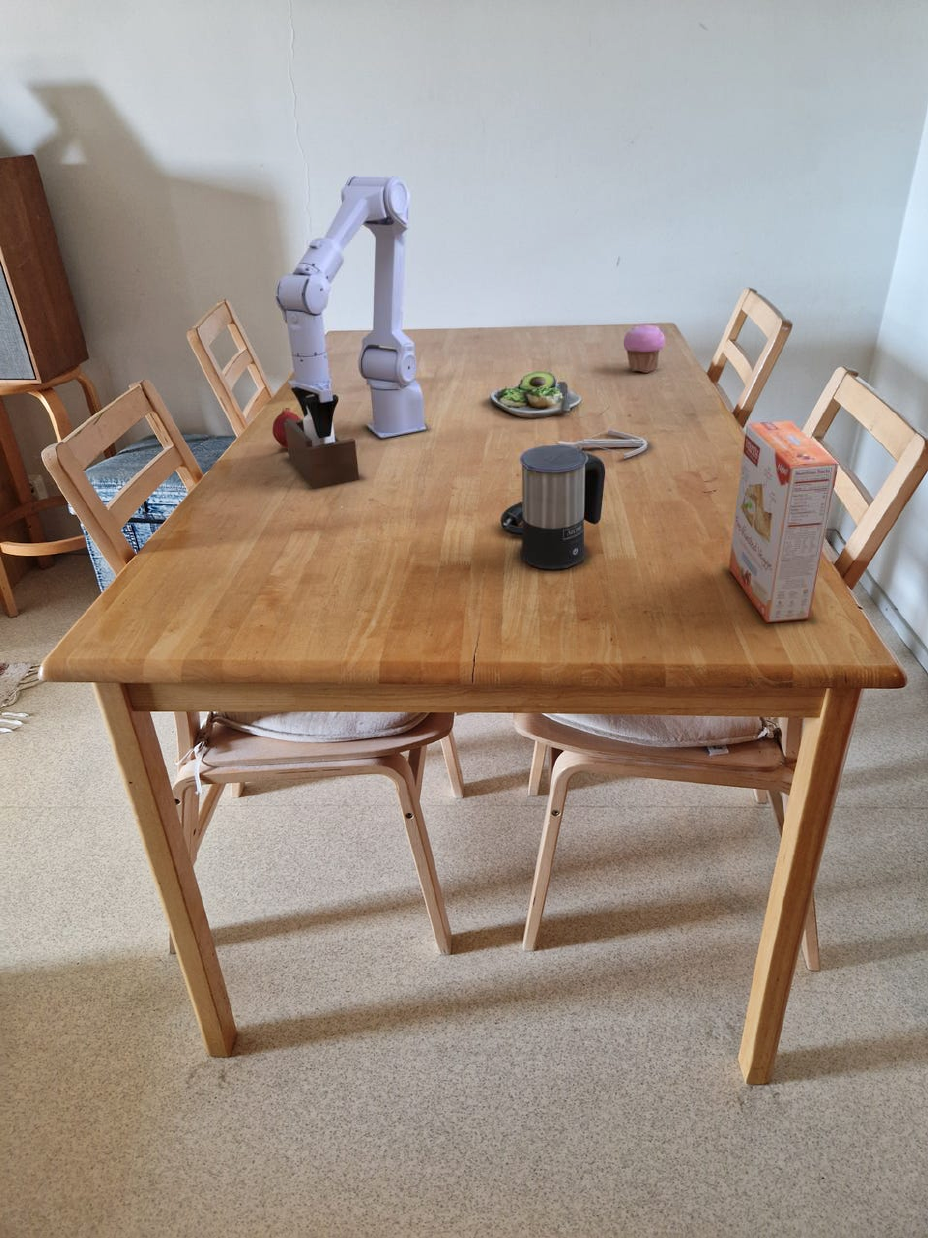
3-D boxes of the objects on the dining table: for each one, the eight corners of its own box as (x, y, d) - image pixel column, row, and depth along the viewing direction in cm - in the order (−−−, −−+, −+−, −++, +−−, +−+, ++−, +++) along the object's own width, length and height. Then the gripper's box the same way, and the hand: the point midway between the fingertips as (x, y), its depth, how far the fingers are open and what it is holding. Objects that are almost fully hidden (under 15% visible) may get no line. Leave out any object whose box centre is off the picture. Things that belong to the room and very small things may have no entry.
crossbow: (637, 437, 167) (638, 426, 166) (654, 463, 156) (655, 451, 155) (552, 437, 165) (553, 426, 164) (563, 463, 155) (564, 451, 154)
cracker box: (724, 570, 121) (744, 421, 110) (768, 566, 122) (792, 418, 110) (763, 624, 109) (789, 464, 98) (811, 621, 110) (842, 460, 99)
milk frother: (566, 577, 121) (569, 475, 113) (467, 551, 129) (464, 454, 121) (610, 535, 131) (615, 438, 124) (516, 514, 139) (515, 421, 131)
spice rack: (331, 451, 164) (326, 409, 160) (359, 479, 153) (354, 434, 149) (289, 459, 162) (283, 417, 157) (314, 488, 150) (308, 443, 146)
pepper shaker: (337, 447, 156) (330, 393, 151) (326, 455, 153) (320, 401, 148) (316, 445, 158) (309, 392, 152) (306, 453, 154) (298, 399, 149)
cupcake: (668, 368, 200) (672, 322, 195) (653, 378, 194) (657, 331, 189) (631, 363, 204) (634, 318, 199) (615, 373, 198) (618, 327, 193)
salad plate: (603, 412, 177) (604, 389, 174) (522, 427, 171) (522, 404, 169) (557, 386, 192) (557, 364, 190) (481, 399, 186) (480, 377, 184)
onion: (300, 455, 163) (294, 413, 159) (270, 454, 164) (264, 412, 160) (311, 444, 168) (305, 402, 164) (282, 443, 169) (276, 401, 165)
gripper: (273, 345, 151) (285, 423, 158) (297, 366, 139) (309, 449, 147) (313, 339, 153) (323, 416, 160) (340, 359, 142) (349, 441, 149)
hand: (319, 431), depth 154 cm, fingers closed on pepper shaker, 5 cm apart
